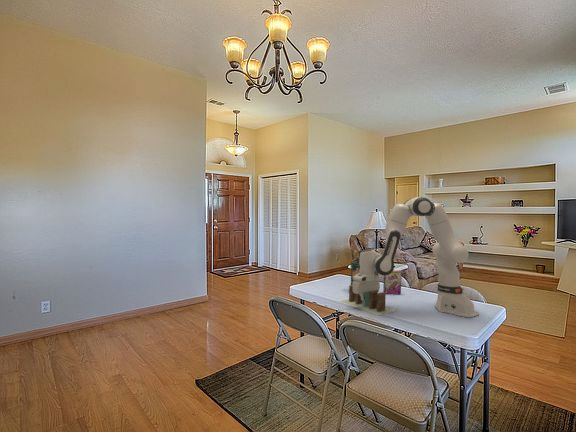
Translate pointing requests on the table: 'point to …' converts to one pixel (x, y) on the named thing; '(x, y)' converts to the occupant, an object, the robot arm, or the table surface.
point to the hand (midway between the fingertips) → (366, 299)
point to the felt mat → (367, 308)
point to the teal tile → (366, 299)
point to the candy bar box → (392, 283)
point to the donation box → (357, 269)
